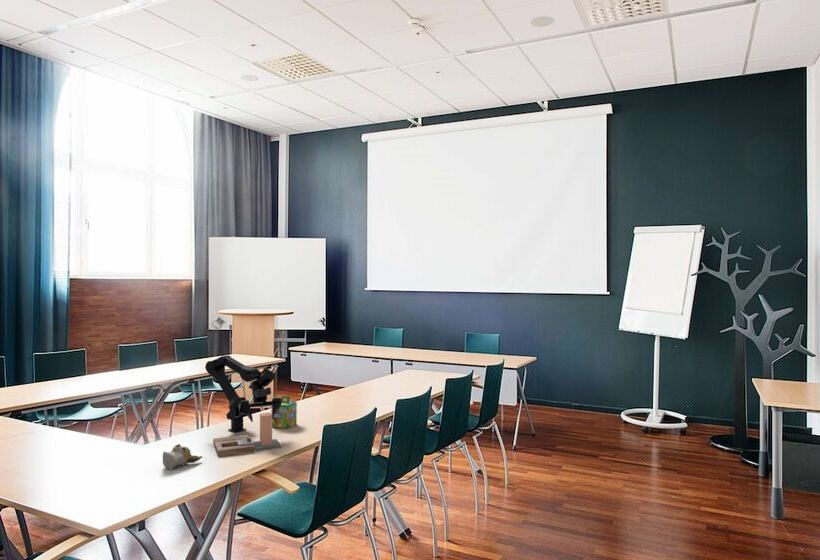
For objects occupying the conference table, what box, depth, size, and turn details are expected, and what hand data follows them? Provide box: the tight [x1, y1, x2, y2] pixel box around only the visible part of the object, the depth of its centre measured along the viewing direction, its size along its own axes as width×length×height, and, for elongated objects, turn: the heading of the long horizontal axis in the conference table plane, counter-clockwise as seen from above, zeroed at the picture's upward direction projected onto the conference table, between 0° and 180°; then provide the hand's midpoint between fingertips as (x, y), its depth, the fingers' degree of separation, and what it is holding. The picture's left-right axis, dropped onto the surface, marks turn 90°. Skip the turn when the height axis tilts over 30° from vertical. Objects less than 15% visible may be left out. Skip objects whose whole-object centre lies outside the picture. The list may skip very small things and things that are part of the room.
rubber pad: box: [252, 438, 282, 452], centre depth 254 cm, size 11×11×1 cm
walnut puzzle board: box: [212, 434, 256, 458], centre depth 251 cm, size 20×15×2 cm
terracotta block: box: [259, 412, 273, 446], centre depth 254 cm, size 4×4×13 cm
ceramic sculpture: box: [162, 443, 203, 470], centre depth 229 cm, size 11×9×15 cm
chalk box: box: [272, 395, 298, 430], centre depth 288 cm, size 9×9×15 cm
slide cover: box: [236, 437, 254, 446], centre depth 250 cm, size 8×6×2 cm
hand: (262, 420), depth 261 cm, fingers open, 9 cm apart
